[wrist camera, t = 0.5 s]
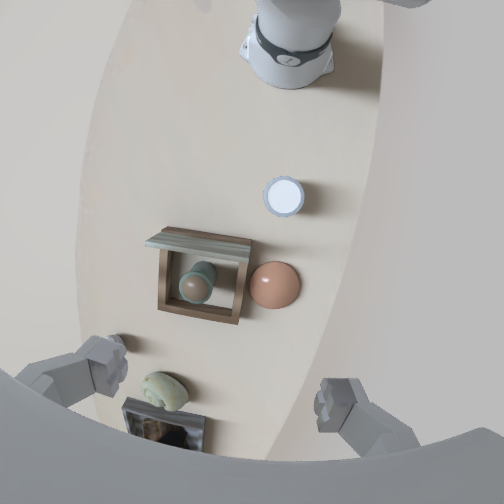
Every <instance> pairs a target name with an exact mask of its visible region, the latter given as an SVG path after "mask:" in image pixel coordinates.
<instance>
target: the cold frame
mask: <svg viewBox="0 0 504 504" xmlns="http://www.w3.org/2000/svg"><path fill="white" fill-rule="evenodd" d="M251 241H252V240H251V239H245V238H239V237H232V236H226V235H220V234H213V233H207V232H201V231H194V230H188V229H181V228H174V227H168V226H167V227H166V228H164V229H162V231H161V232H160V233H158V234H157V235H155V236H153V237H151V238H150V239H148V240H146V241H145V246H147V247H153V248H159V249H160V259H159V280H158V310H161V311H166V312H170V313H175V314H180V315H185V316H190V317H195V318H201V319H206V320H212V321H217V322H223V323H229V324H235V325H238V322H239V316H240V310H241V303H242V297H243V291H244V285H245V279H246V273H247V266H248V263H249V256H250V249H251ZM173 251H176V252H182V253H188V254H194V255H200V256H206V257H212V258H218V259H224V260H230V261H237V262H239V268H238V275H237V281H236V288H235V294H234V301H233V308H232V309H229V308H223V307H217V306H212V305H206V304H194V303H190V302H188V301H185V300H179V299H174V298H170V287H171V270H172V255H173Z"/></svg>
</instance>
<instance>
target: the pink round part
mask: <svg viewBox="0 0 504 504" xmlns="http://www.w3.org/2000/svg"><path fill="white" fill-rule="evenodd" d="M299 285H300V284H299V279H298V276H297V274H296V272H295V271H294V270H293V268H291V267H290V266H289V265H287V264H285V263H283V262H277V261H272V262H267V263H265V264H262V265H261V266H259V267H258V268H257V269H256V270H255V271H254V272H253V274H252V276H251V279H250V293H251V295H252V297H253V299H254V300H255V301H256V302H257V303H258V304H259V305H261V306H263V307H265V308H268V309H280V308H283V307H286V306H287V305H289V304H290V303H292V302H293V301H294V299H295V298H296V296H297V294H298V292H299Z"/></svg>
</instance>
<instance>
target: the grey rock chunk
mask: <svg viewBox="0 0 504 504" xmlns="http://www.w3.org/2000/svg"><path fill="white" fill-rule="evenodd" d="M105 339H108V340H111V341H114V342H117V343H120V344H123V345H124V342H123V340H122V339H121V338H120V337H119V336H117V335H110V336H106V337H105Z"/></svg>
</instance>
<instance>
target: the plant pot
mask: <svg viewBox="0 0 504 504" xmlns="http://www.w3.org/2000/svg"><path fill="white" fill-rule="evenodd" d="M215 279H216V270H215V268H214V266H213V265H212V264H210V263H209V262H206V261H200V262H197V263H196V264H195V265H194V266H193V267H192V269H191V270H190V271H189V272H187V273H186V274H185V275H184V276H183V277H182V278H181V280H180V283H179V290H180V293H181V295H182V296H183V298H184V299H185V300H187V301H188V302H190V303H194V304H200V303H204V302H205V301H207V300H208V299H209V298H210V296H211V294H212V290H213V283H214V281H215Z"/></svg>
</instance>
